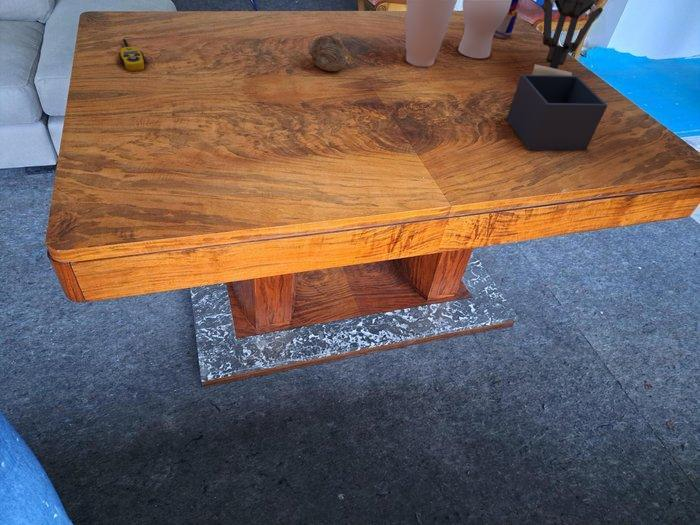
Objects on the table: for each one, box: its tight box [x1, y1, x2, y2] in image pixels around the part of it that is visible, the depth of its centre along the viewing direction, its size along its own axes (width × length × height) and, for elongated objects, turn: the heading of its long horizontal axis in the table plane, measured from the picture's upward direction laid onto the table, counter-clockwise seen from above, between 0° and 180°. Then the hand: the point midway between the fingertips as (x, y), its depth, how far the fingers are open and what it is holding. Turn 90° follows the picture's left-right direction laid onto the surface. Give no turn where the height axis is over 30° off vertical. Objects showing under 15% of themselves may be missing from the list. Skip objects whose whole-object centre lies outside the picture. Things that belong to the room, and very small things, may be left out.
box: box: [506, 74, 608, 151], centre depth 100 cm, size 12×12×10 cm
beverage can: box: [494, 0, 522, 39], centre depth 136 cm, size 5×5×15 cm
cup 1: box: [404, 0, 458, 68], centre depth 119 cm, size 12×12×16 cm
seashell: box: [307, 35, 347, 72], centre depth 114 cm, size 9×7×8 cm
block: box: [530, 63, 573, 76], centre depth 110 cm, size 8×8×7 cm
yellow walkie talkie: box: [118, 38, 146, 72], centre depth 111 cm, size 5×2×15 cm
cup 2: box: [457, 0, 512, 59], centre depth 125 cm, size 11×11×16 cm
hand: (550, 76), depth 113 cm, fingers closed
